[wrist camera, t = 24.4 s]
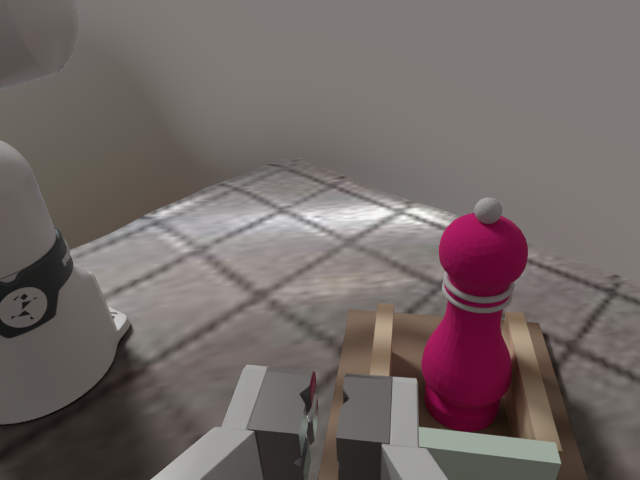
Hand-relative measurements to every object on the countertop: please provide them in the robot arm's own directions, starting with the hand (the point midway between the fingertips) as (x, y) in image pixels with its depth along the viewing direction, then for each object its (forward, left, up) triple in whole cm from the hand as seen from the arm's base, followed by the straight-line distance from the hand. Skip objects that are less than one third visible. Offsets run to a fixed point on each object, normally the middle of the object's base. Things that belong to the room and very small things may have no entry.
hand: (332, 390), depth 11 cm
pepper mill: (-8, +23, -27) cm, 36 cm away
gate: (-3, +15, -27) cm, 31 cm away
